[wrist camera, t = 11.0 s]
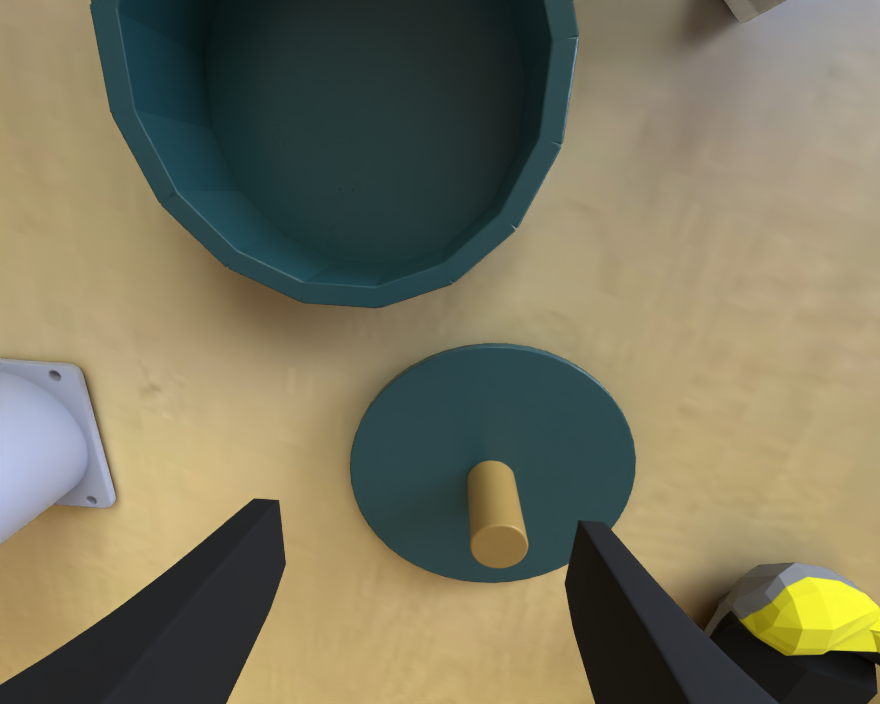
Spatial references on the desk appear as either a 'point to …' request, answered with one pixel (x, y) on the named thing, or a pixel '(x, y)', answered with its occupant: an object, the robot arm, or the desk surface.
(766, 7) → the ink cartridge box
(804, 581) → the yellow black shoe
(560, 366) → the tin lid
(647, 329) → the desk surface
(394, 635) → the desk surface
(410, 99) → the tin
